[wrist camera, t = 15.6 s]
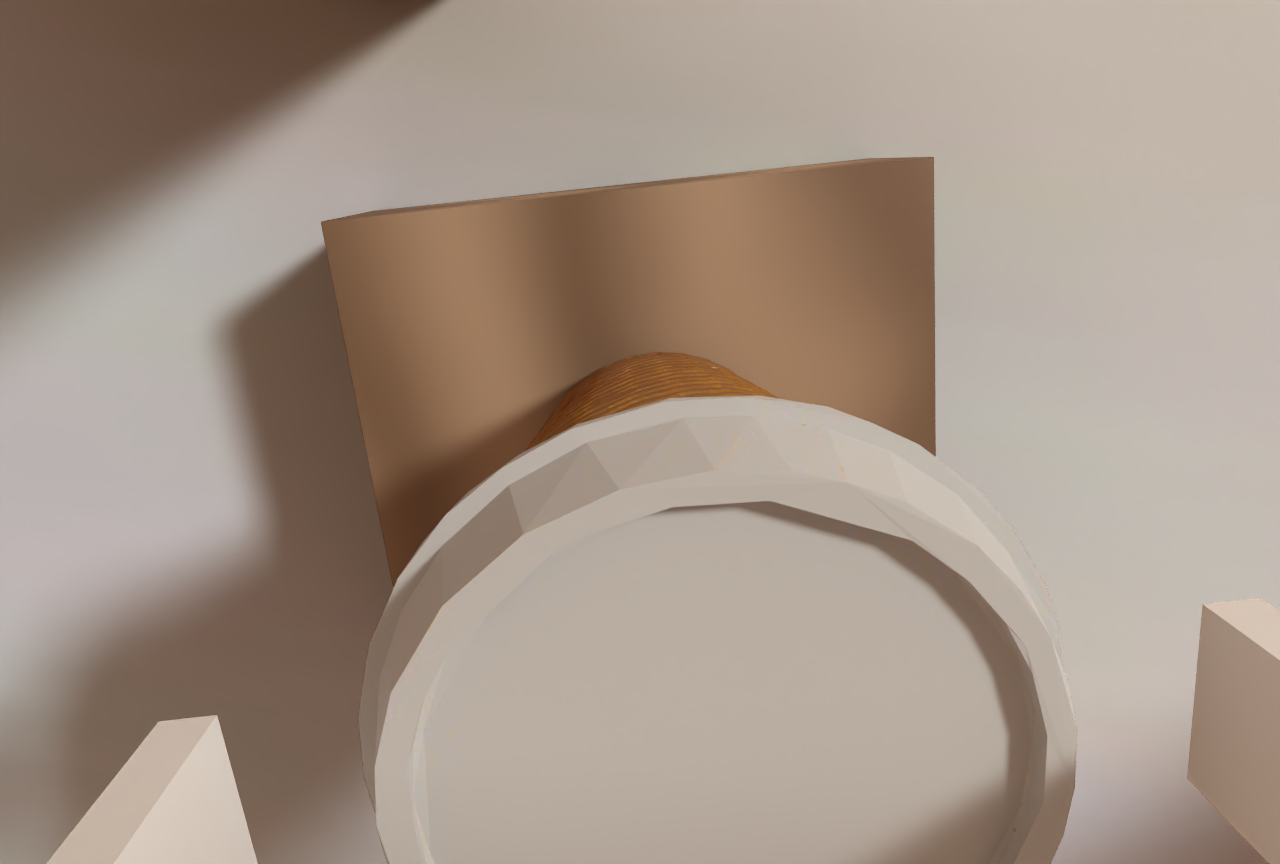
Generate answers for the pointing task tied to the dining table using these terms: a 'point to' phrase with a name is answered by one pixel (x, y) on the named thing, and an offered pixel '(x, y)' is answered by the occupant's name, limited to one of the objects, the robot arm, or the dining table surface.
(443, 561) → the disposable coffee cup
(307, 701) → the dining table surface
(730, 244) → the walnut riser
